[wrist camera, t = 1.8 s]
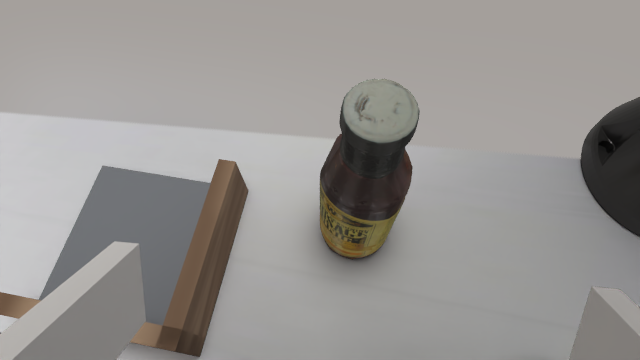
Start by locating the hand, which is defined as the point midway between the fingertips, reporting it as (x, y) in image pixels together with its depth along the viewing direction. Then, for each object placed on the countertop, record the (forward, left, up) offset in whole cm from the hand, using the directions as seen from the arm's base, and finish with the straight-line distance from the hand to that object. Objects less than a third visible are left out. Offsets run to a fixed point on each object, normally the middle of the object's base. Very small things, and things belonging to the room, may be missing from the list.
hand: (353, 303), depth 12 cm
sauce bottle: (+9, -7, -25) cm, 27 cm away
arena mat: (+18, +11, -25) cm, 32 cm away
